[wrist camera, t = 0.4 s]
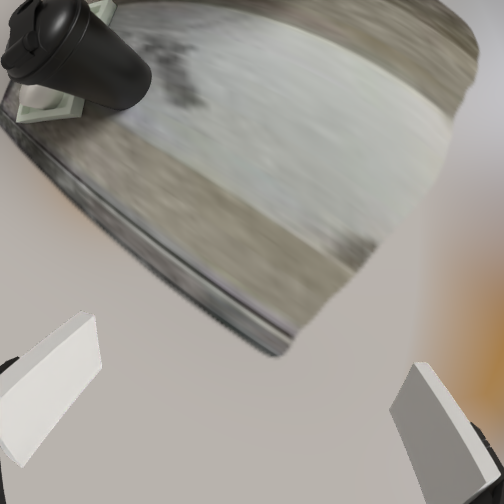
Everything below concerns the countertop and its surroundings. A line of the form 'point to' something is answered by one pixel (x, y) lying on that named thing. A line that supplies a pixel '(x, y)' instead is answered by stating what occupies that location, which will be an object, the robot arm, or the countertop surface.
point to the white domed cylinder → (39, 97)
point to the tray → (69, 103)
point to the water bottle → (73, 54)
